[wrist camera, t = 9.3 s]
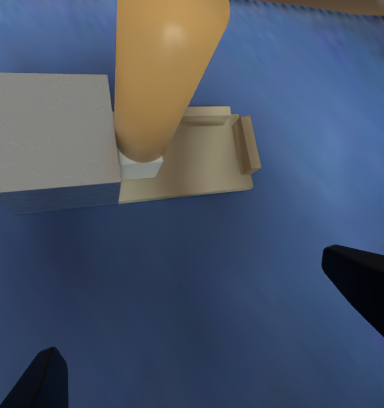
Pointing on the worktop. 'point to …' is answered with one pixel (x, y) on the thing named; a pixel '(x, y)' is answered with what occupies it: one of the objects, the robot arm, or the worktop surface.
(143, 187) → the cradle
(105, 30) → the worktop surface
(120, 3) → the orange upright rod
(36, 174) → the socket
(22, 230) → the worktop surface
